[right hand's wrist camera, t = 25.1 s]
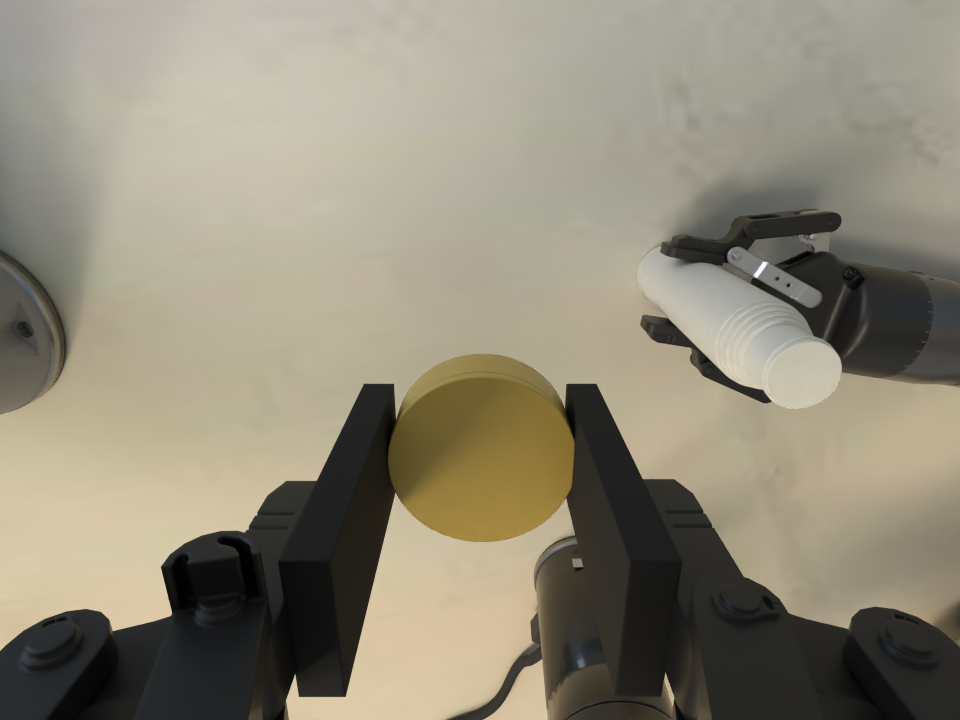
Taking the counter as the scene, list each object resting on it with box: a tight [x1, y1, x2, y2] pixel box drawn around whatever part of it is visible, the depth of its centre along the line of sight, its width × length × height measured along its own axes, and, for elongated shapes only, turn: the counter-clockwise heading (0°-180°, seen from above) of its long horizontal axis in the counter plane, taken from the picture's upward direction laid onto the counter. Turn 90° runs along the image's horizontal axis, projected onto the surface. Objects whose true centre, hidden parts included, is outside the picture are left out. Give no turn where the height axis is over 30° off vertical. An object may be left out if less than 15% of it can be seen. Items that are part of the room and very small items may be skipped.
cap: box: [388, 354, 575, 542], centre depth 14 cm, size 4×4×2 cm
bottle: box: [637, 246, 842, 409], centre depth 35 cm, size 5×5×22 cm
